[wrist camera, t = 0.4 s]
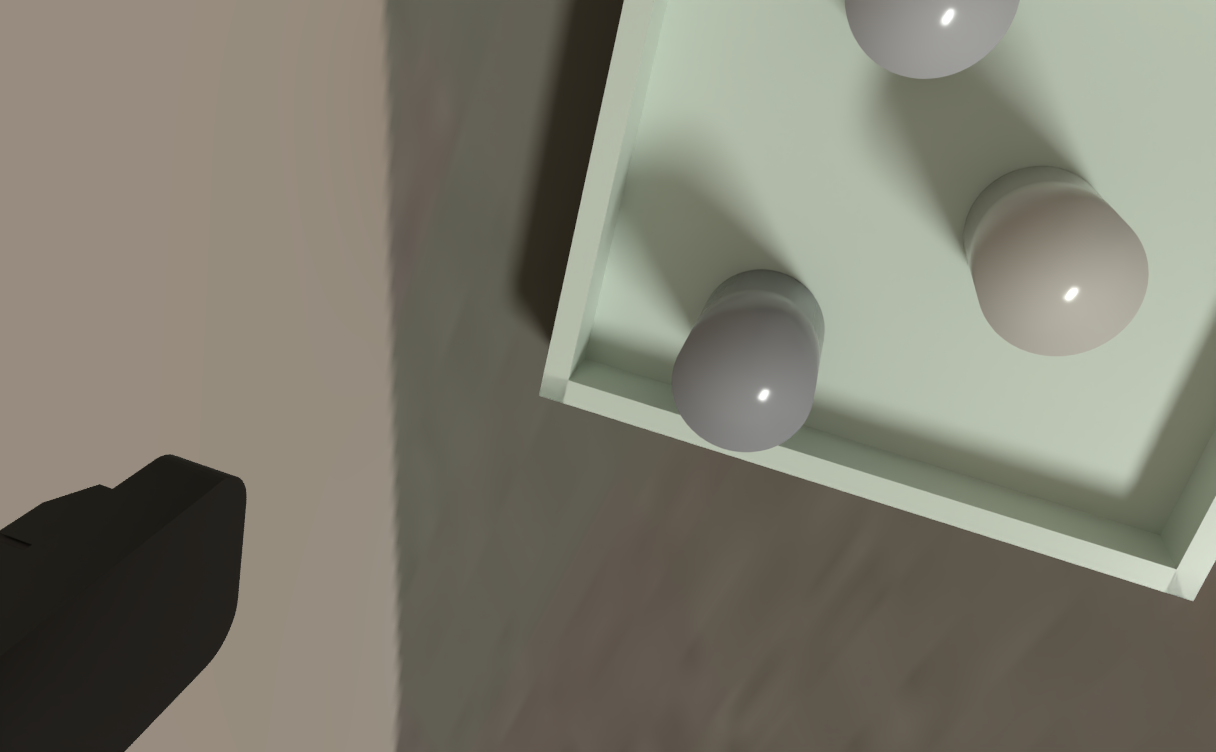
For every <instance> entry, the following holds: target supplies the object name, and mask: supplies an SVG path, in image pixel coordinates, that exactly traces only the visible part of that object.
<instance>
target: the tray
mask: <svg viewBox="0 0 1216 752" xmlns="http://www.w3.org/2000/svg"><path fill="white" fill-rule="evenodd" d="M1031 166H1052V167H1057V168H1062V169H1065V170H1068V171H1070V172H1072V173H1074V174H1076V175H1078V176H1080V177H1081V178H1083V179H1084V180H1085V181H1087V182H1088V183H1089V184H1090V185H1091V186H1092V187H1093V188H1094V189H1095V190H1096V191H1097V192H1098V193H1099V194H1100V195H1101V197H1102V198H1103V199H1104V200H1105V201H1106V202H1107V203H1108V204H1109V205H1110V206H1111V207H1112V208H1113V209H1114V210H1115V211H1116V212H1117V213H1118V214H1119V216H1120V217H1121V218H1122V219H1123V220H1124V221H1125V222H1126V223H1127V224H1128V225H1129V226H1130V227H1131V228H1132V230H1133V231H1134V232H1135V233H1136V235H1137V236H1138V238H1139V240H1140V241H1141V243H1142V245H1143V248H1144V250H1145V253H1146V257H1147V261H1148V271H1149V276H1148V285H1147V290H1146V294H1145V297H1144V299H1143V302H1142V304H1141V306H1140V308H1139V310H1138V312H1137V314H1136V315H1135V316H1134V318H1133V319H1132V320H1131V322H1130V323H1129V324H1128V325H1127V326H1126V327H1125V328H1124V329H1123V330H1122V331H1121V332H1120V333H1119V334H1118V335H1116V336H1115V337H1114V338H1112V339H1111V340H1109V341H1108V342H1106V343H1105V344H1103V345H1101V346H1099V347H1097V348H1094V349H1092V350H1089V351H1086V352H1083V353H1079V354H1075V355H1068V356H1044V355H1038V354H1034V353H1030V352H1027V351H1024V350H1021V349H1019V348H1017V347H1015V346H1013V345H1011V344H1010V343H1008V342H1007V341H1006V340H1004V339H1003V338H1002V337H1001V336H999V335H998V334H997V333H996V332H995V331H994V330H993V328H992V327H991V326H990V325H989V323H988V322H987V320H986V318H985V317H984V315H983V312H982V310H981V308H980V304H979V301H978V297H977V293H976V290H975V286H974V283H973V279H972V275H971V272H970V268H969V264H968V261H967V257H966V254H965V250H964V243H963V231H964V225H965V221H966V218H967V215H968V212H969V210H970V208H971V206H972V204H973V203H974V201H975V200H976V198H977V197H978V196H979V194H980V193H981V192H982V191H983V190H984V189H985V188H986V187H987V186H988V185H989V184H991V183H992V182H993V181H995V180H996V179H998V178H999V177H1001V176H1003V175H1005V174H1007V173H1009V172H1012V171H1014V170H1017V169H1021V168H1025V167H1031ZM756 269H766V270H774V271H778V272H781V273H784V274H787V275H789V276H791V277H793V278H795V279H796V280H798V281H799V282H801V283H802V284H803V285H804V286H805V287H807V288H808V290H809V291H810V292H811V293H812V294H813V296H814V297H815V299H816V300H817V302H818V304H819V306H820V308H821V311H822V314H823V318H824V324H825V334H824V342H823V347H822V353H821V359H820V365H819V371H818V377H817V383H816V389H815V395H814V400H813V404H812V408H811V411H810V413H809V415H808V417H807V419H806V421H805V422H804V424H803V425H802V427H801V428H800V429H799V430H798V431H797V432H796V433H795V434H794V435H793V436H792V437H791V438H789V439H788V440H786V441H785V442H783V443H781V444H780V445H778V446H775V447H773V448H770V449H767V450H763V451H757V452H736V451H730V450H726V449H723V448H720V447H717V446H715V445H713V444H711V443H709V442H707V441H705V440H704V439H703V438H701V437H700V436H698V435H697V434H696V433H695V432H694V431H693V430H692V429H691V428H690V427H689V426H688V425H687V424H686V422H685V421H684V420H683V418H682V417H681V415H680V413H679V411H678V409H677V407H676V404H675V401H674V397H673V393H672V372H673V367H674V364H675V361H676V358H677V356H678V354H679V352H680V350H681V349H682V347H683V345H684V343H685V341H686V339H687V338H688V336H689V334H690V332H691V330H692V328H693V326H694V325H695V323H696V321H697V319H698V317H699V315H700V313H701V312H702V310H703V308H704V306H705V304H706V302H707V301H708V299H709V297H710V296H711V294H712V293H713V291H714V290H715V289H716V288H717V287H718V286H719V285H720V284H721V283H723V282H724V281H725V280H727V279H728V278H730V277H732V276H734V275H736V274H738V273H741V272H745V271H749V270H756ZM539 396H542V397H545V398H549V399H552V400H555V401H558V402H561V403H565V404H568V405H571V406H574V407H577V408H580V409H584V410H587V411H590V412H593V413H596V414H600V415H603V416H606V417H609V418H612V419H615V420H619V421H622V422H625V423H628V424H631V425H635V426H638V427H641V428H644V429H647V430H650V431H654V432H657V433H660V434H663V435H666V436H670V437H673V438H676V439H679V440H682V441H685V442H689V443H692V444H695V445H698V446H701V447H705V448H708V449H711V450H714V451H717V452H720V453H724V454H727V455H730V456H733V457H736V458H739V459H743V460H746V461H749V462H752V463H755V464H759V465H762V466H765V467H768V468H771V469H774V470H778V471H781V472H784V473H787V474H790V475H794V476H797V477H800V478H803V479H806V480H809V481H813V482H816V483H819V484H822V485H825V486H829V487H832V488H835V489H838V490H841V491H844V492H848V493H851V494H854V495H857V496H860V497H864V498H867V499H870V500H873V501H876V502H879V503H883V504H886V505H889V506H892V507H895V508H899V509H902V510H905V511H908V512H911V513H914V514H918V515H921V516H924V517H927V518H930V519H933V520H937V521H940V522H943V523H946V524H949V525H953V526H956V527H959V528H962V529H965V530H968V531H972V532H975V533H978V534H981V535H984V536H988V537H991V538H994V539H997V540H1000V541H1003V542H1007V543H1010V544H1013V545H1016V546H1019V547H1023V548H1026V549H1029V550H1032V551H1035V552H1038V553H1042V554H1045V555H1048V556H1051V557H1054V558H1058V559H1061V560H1064V561H1067V562H1070V563H1073V564H1077V565H1080V566H1083V567H1086V568H1089V569H1092V570H1096V571H1099V572H1102V573H1105V574H1108V575H1112V576H1115V577H1118V578H1121V579H1124V580H1127V581H1131V582H1134V583H1137V584H1140V585H1143V586H1147V587H1150V588H1153V589H1156V590H1159V591H1162V592H1166V593H1169V594H1172V595H1175V596H1178V597H1182V598H1185V599H1188V600H1191V601H1194V599H1195V597H1196V595H1197V593H1198V591H1199V590H1200V588H1201V586H1202V584H1203V582H1204V580H1205V579H1206V577H1207V575H1208V573H1209V571H1210V569H1211V568H1212V566H1213V564H1214V562H1215V560H1216V0H1020V1H1019V5H1018V8H1017V12H1016V14H1015V16H1014V19H1013V21H1012V23H1011V25H1010V27H1009V28H1008V30H1007V32H1006V34H1005V35H1004V36H1003V38H1002V39H1001V40H1000V42H999V43H998V44H997V45H996V46H995V47H994V48H993V49H992V50H991V51H990V52H989V53H988V54H987V55H986V56H985V57H983V58H982V59H981V60H980V61H978V62H977V63H975V64H973V65H972V66H970V67H968V68H966V69H964V70H962V71H960V72H958V73H955V74H952V75H949V76H944V77H940V78H931V79H917V78H910V77H904V76H901V75H898V74H895V73H892V72H890V71H888V70H886V69H884V68H883V67H881V66H880V65H878V64H877V63H875V62H874V61H873V60H872V59H871V58H870V57H869V56H867V55H866V53H865V52H864V51H863V50H862V49H861V47H860V46H859V44H858V43H857V41H856V39H855V38H854V36H853V34H852V31H851V29H850V26H849V23H848V20H847V16H846V9H845V0H624V3H623V8H622V12H621V17H620V22H619V26H618V31H617V35H616V40H615V45H614V49H613V54H612V59H611V63H610V68H609V73H608V77H607V82H606V87H605V91H604V96H603V101H602V105H601V110H600V115H599V119H598V124H597V128H596V133H595V138H594V142H593V147H592V152H591V156H590V161H589V166H588V170H587V175H586V180H585V184H584V189H583V194H582V198H581V203H580V208H579V212H578V217H577V222H576V226H575V231H574V235H573V240H572V245H571V249H570V254H569V259H568V263H567V268H566V273H565V277H564V282H563V287H562V291H561V296H560V301H559V305H558V310H557V315H556V319H555V324H554V328H553V333H552V338H551V342H550V347H549V352H548V356H547V361H546V366H545V370H544V375H543V380H542V384H541V389H540V394H539Z"/></svg>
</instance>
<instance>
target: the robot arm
mask: <svg viewBox="0 0 1216 752" xmlns="http://www.w3.org/2000/svg"><path fill="white" fill-rule="evenodd" d="M245 509H246V488H245V485H244V483H243V481H242V480H241V479H240V478H239V477H236V476H233V475H230V474H227V473H224V472H221V471H218V470H215V469H213V468H210V467H207V466H203V465H201V464H198V463H195V462H192V461H189V460H186V459H183V458H181V457H178V456H174V455H164V456H161V457H159V458H157V459H155V460H154V461H153V462H151V463H150V464H148V465H147V466H145V467H144V468H142V469H141V470H139V471H138V472H137V473H135V474H134V475H132V476H131V477H129V478H128V479H126V480H125V481H123V482H122V483H121V484H119V485H118V486H116V487H115V488H113V489H111V488H108V487H106V486H103V485H100V484H99V485H96V486H93V487H90V488H87V489H84V490H81V491H78V492H74V493H71V494H68V495H65V496H62V497H59V498H56V499H53V500H50V501H47V502H44V503H42V504H40V505H38V506H37V507H35V508H34V509H33V510H31V511H29V512H28V513H26V514H25V515H23V516H22V517H20V518H18V519H17V520H15V521H14V522H12V523H11V524H9V525H8V526H6V527H5V528H3V529H2V530H0V752H124V751H125V750H126V749H127V748H128V747H129V746H130V745H131V744H132V743H133V742H134V741H135V740H136V739H137V738H138V737H139V736H140V735H141V734H142V733H143V732H144V731H145V730H146V729H147V728H148V727H149V725H150V724H151V723H152V722H153V721H154V720H155V719H156V718H157V717H158V716H159V715H160V714H161V713H162V712H163V711H164V710H165V709H166V708H167V707H168V706H169V705H170V704H171V703H172V702H173V701H174V699H175V698H176V697H177V696H178V695H179V694H180V693H181V692H182V691H183V690H184V689H185V688H186V687H187V686H188V685H189V684H190V683H191V682H192V681H193V680H194V679H195V678H196V676H198V674H199V673H200V672H201V671H202V670H203V669H204V668H205V667H206V666H207V665H208V664H209V663H210V662H211V660H212V659H213V658H214V656H215V655H216V654H217V652H218V651H219V649H220V647H221V646H222V644H223V642H224V640H225V638H226V636H227V634H228V632H229V630H230V627H231V624H232V622H233V619H234V616H235V612H236V608H237V601H238V591H239V580H240V568H241V556H242V545H243V533H244V522H245Z"/></svg>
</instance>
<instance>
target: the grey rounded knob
mask: <svg viewBox="0 0 1216 752" xmlns="http://www.w3.org/2000/svg"><path fill="white" fill-rule="evenodd" d="M824 334H825V324H824V318H823V314H822V311H821V308H820V306H819V304H818V302H817V300H816V299H815V297H814V296H813V294H812V293H811V292H810V291H809V290H808V288H807V287H805V286H804V285H803V284H802V283H801V282H799V281H798V280H796V279H795V278H793V277H791V276H789V275H787V274H784V273H781V272H778V271H774V270H766V269H756V270H749V271H745V272H741V273H738V274H736V275H734V276H732V277H730V278H728V279H727V280H725V281H724V282H723V283H721V284H720V285H719V286H718V287H717V288H716V289H715V290H714V291H713V293H712V294H711V296H710V297H709V299H708V301H707V302H706V304H705V306H704V308H703V310H702V312H701V313H700V315H699V317H698V319H697V321H696V323H695V325H694V326H693V328H692V330H691V332H690V334H689V336H688V338H687V339H686V341H685V343H684V345H683V347H682V349H681V350H680V352H679V354H678V356H677V358H676V361H675V364H674V367H673V372H672V393H673V397H674V401H675V404H676V407H677V409H678V411H679V413H680V415H681V417H682V418H683V420H684V421H685V422H686V424H687V425H688V426H689V427H690V428H691V429H692V430H693V431H694V432H695V433H696V434H697V435H698V436H700V437H701V438H703V439H704V440H705V441H707V442H709V443H711V444H713V445H715V446H717V447H720V448H723V449H726V450H730V451H736V452H757V451H763V450H767V449H770V448H773V447H775V446H778V445H780V444H781V443H783V442H785V441H786V440H788V439H789V438H791V437H792V436H793V435H794V434H795V433H796V432H797V431H798V430H799V429H800V428H801V427H802V425H803V424H804V422H805V421H806V419H807V417H808V415H809V413H810V411H811V408H812V404H813V400H814V395H815V389H816V383H817V377H818V371H819V365H820V359H821V353H822V347H823V342H824Z"/></svg>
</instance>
